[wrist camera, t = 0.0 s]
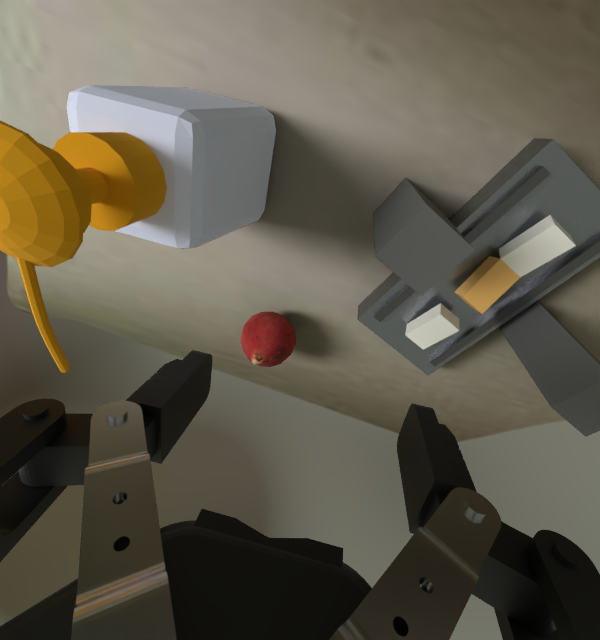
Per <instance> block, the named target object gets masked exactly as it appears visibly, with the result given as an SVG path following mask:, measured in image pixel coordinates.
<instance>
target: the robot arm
mask: <svg viewBox="0 0 600 640" xmlns="http://www.w3.org/2000/svg"><path fill="white" fill-rule="evenodd" d="M211 370H212V355H211V354H207V353H203V352H199V351H195V350H193V351H191V352H190V353H189V354H188V355H187V356H186V357H185V358H184V359H183V360H179V359H176V360H173V361H171V362H169V363H167V364H165V365H164V366H163V367H161V368H160V369H159V370H158V371H157V373H155V374H154V375H153V376H152V377H151V378H150V380H147V381H146V382H145V383H144V384H143V385H142V386H141V387H140V388H139V389H138V390H137V391H135V392H134V393H133V394H132V395H131V396H130V397H129V398H128V399H127V400H126V401H116V402H111V403H108V404H106V405H104V406H102V407H100V408H99V409H97V410H96V411H95V412H94V414H66V412H65V406H64V404H63V403H62V402H60V401H58V400H55V399H37V400H33V401H29V402H26V403H24V404H21V405H19V406H17V407H16V408H14V409H13V410H11V411H10V412H8V413H7V414H5V415H4V416H3V417H1V418H0V562H1V561H2V560H3V558H4V557H5V556H6V555H7V554H8V553H9V552H10V550H11V549H12V548H13V547H14V546H15V545H16V544H17V543H18V541H19V540H20V539H21V538H22V537H23V536H24V535H25V534H26V532H27V531H28V530H29V529H30V528H31V527H32V526H33V525H34V523H35V522H36V521H37V520H38V519H39V518H40V517H41V515H42V514H43V513H44V512H45V511H46V510H47V509H48V508H49V506H50V505H51V504H52V503H53V502H54V501H55V499H57V497H58V496H59V495H60V494H61V493H62V492H63V491H64V489H65V488H66V487H67V486H68V485H84V491H83V507H82V523H81V537H80V553H79V568H78V579H76V580H74V581H73V582H71V583H70V584H68V585H66V586H65V587H63V588H61V589H60V590H58V591H57V592H55V593H53V594H52V595H50V596H48V597H47V598H45V599H44V600H42V601H40V602H39V603H37V604H36V605H34V606H32V607H31V608H29V609H28V610H26V611H24V612H23V613H21V614H19V615H18V616H16V617H15V618H13V619H12V620H10V621H8V622H6V623H5V624H3V625H2V626H0V640H449V639H450V637H451V635H452V633H453V631H454V629H455V627H456V624H457V622H458V620H459V618H460V616H461V614H462V612H463V610H464V608H465V606H466V603H467V602H468V600H469V597H470V595H471V594H473V595H475V596H476V597H478V598H479V599H481V600H483V601H484V602H486V603H487V604H489V605H491V606H492V607H494V609H495V613H496V616H497V620H498V624H499V627H500V631H501V634H502V638H503V640H600V574H599V573H598V571H597V569H596V567H595V566H594V564H593V562H592V561H591V560H590V558H589V557H588V556H587V555H586V554H585V553H584V552H583V551H582V550H581V549H580V548H579V547H578V546H577V545H576V544H574V543H573V542H572V541H570V540H569V539H567V538H566V537H564V536H562V535H560V534H558V533H556V532H553V531H550V530H540V531H538V532H537V533H536V534H535V536H534V537H533V538H531V537H529V536H528V535H526V534H524V533H522V532H520V531H518V530H516V529H514V528H512V527H510V526H508V525H507V524H505V523H503V522H502V521H501V518H500V516H499V514H498V512H497V510H496V509H495V507H494V506H493V505H492V504H491V503H490V502H489V501H488V500H487V499H486V498H485V497H483V496H482V495H480V494H479V493H477V492H476V489H475V487H474V484H473V481H472V479H471V476H470V474H469V471H468V469H467V467H466V464H465V461H464V460H463V456H462V454H461V451H460V450H459V446H458V443H457V441H456V438H455V436H454V435H453V434H452V433H451V431H450V430H449V429H448V428H447V427H446V426H445V425H443V424H439V423H438V420H437V418H436V415H435V412H434V410H433V408H429V407H425V406H421V405H417V404H411V406H410V407H409V410H408V412H407V415H406V418H405V420H404V423H403V425H402V428H401V431H400V433H399V436H398V441H397V453H398V459H399V466H400V472H401V478H402V485H403V492H404V498H405V505H406V511H407V518H408V523H409V530H410V533H413V534H414V535H413V536H412V538H411V539H410V540H409V542H408V543H407V544H406V546H405V547H404V548H403V549H402V551H401V552H400V553H399V554H398V556H397V557H396V558H395V560H394V561H393V562H392V564H391V565H390V566H389V567H388V569H387V570H386V571H385V572H384V574H383V575H382V576H381V578H380V579H379V580H378V581H377V583H376V584H375V585H374V587H373V588H371V587H370V585H369V584H368V583H367V582H366V581H365V580H364V578H362V577H361V576H360V575H359V574H358V573H357V572H356V571H355V570H354V569H352V568H351V567H350V566H348V565H347V564H345V563H343V561H342V560H343V548H340V547H336V546H333V545H329V544H326V543H322V542H319V541H315V540H311V539H308V538H269V537H266V536H264V535H263V534H261V533H259V532H258V531H256V530H254V529H253V528H251V527H249V526H248V525H246V524H244V523H242V522H241V521H239V520H238V519H236V518H233V517H230V516H226V515H222V514H219V513H215V512H212V511H208V510H205V509H202V510H201V512H200V514H199V516H198V518H197V520H196V521H184V522H178V523H174V524H171V525H168V526H165V527H163V528H160V526H159V519H158V511H157V504H156V497H155V490H154V482H153V475H152V468H151V461H153V462H157V463H162V462H163V461H164V459H165V458H166V456H167V455H168V453H169V452H170V451H171V449H172V448H173V446H174V445H175V444H176V442H177V441H178V439H179V438H180V436H181V435H182V434H183V432H184V431H185V429H186V428H187V427H188V425H189V424H190V422H191V421H192V419H193V418H194V417H195V415H196V414H197V412H198V411H199V409H200V408H201V407H202V405H203V404H204V402H205V401H206V399H207V396H208V394H209V390H210V384H211V383H210V382H211ZM17 471H18V472H17ZM16 472H17V473H16ZM15 473H16V474H15ZM9 478H10V479H9ZM8 479H9V480H8ZM7 480H8V481H7ZM6 481H7V482H6ZM5 482H6V483H5ZM4 483H5V484H4Z"/></svg>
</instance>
